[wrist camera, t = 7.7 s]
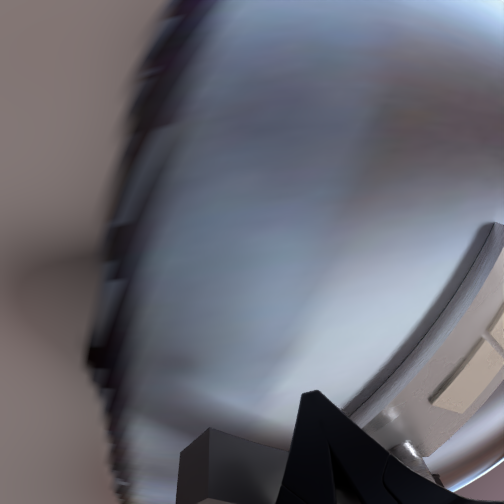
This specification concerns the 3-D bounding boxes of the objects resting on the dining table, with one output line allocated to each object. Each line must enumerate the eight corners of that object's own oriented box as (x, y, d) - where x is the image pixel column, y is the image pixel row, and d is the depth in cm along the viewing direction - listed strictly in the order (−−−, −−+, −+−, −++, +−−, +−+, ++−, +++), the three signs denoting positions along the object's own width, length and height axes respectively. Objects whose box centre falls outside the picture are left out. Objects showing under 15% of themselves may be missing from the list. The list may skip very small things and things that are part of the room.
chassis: (415, 451, 16) (444, 505, 10) (320, 441, 13) (348, 531, 7) (536, 305, 12) (587, 343, 6) (495, 222, 10) (592, 264, 4)
